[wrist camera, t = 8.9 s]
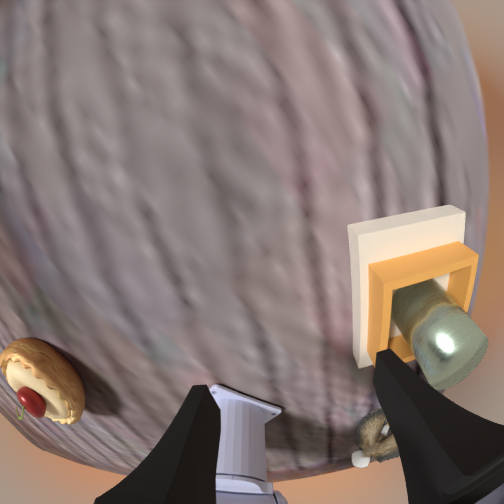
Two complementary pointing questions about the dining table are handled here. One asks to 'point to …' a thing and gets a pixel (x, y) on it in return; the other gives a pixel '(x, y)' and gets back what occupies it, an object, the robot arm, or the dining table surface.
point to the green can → (438, 333)
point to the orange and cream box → (404, 271)
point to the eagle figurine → (374, 440)
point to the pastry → (43, 380)
